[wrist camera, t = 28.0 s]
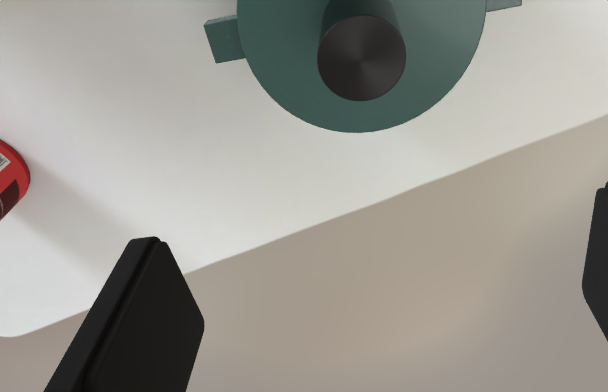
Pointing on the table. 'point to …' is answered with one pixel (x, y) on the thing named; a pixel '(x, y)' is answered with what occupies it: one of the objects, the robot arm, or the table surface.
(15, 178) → the canned food
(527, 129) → the table surface
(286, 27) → the lid
